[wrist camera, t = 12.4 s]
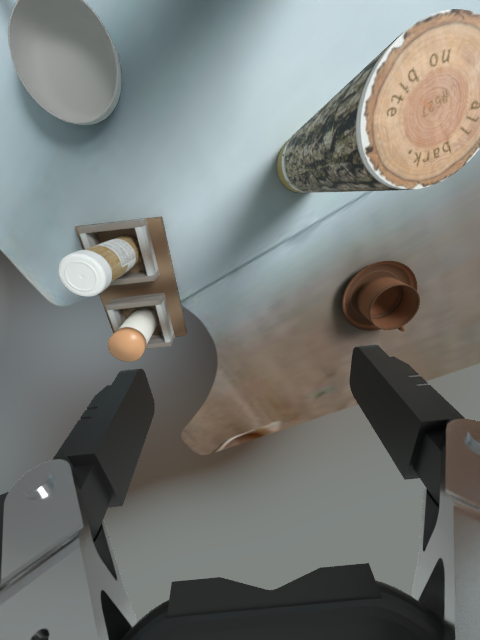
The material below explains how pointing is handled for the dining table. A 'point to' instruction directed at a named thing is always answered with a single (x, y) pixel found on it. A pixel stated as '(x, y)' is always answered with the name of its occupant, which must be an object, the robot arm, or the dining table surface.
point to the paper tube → (396, 115)
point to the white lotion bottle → (133, 334)
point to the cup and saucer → (381, 297)
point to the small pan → (65, 59)
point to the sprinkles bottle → (99, 265)
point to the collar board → (141, 278)
